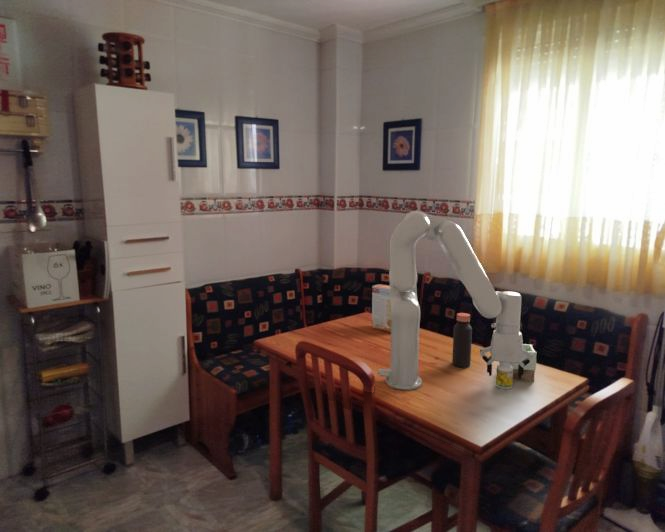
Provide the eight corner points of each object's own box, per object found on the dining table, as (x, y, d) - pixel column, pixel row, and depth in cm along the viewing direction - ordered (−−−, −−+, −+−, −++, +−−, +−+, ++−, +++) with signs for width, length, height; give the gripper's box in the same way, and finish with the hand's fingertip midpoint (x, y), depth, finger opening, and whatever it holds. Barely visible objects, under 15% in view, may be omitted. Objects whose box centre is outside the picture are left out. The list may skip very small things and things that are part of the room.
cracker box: (402, 331, 229) (403, 287, 225) (395, 334, 224) (396, 290, 220) (379, 325, 238) (379, 283, 234) (371, 327, 234) (371, 285, 230)
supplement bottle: (515, 388, 168) (517, 361, 166) (503, 390, 166) (505, 363, 164) (504, 382, 173) (506, 356, 171) (492, 384, 170) (493, 358, 169)
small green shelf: (508, 368, 174) (509, 351, 173) (505, 359, 182) (506, 342, 181) (535, 370, 172) (536, 352, 171) (530, 361, 181) (531, 344, 179)
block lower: (507, 380, 175) (507, 368, 174) (504, 370, 183) (505, 359, 183) (533, 382, 173) (534, 370, 172) (529, 372, 181) (530, 361, 181)
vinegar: (470, 368, 185) (473, 317, 181) (452, 367, 186) (454, 316, 182) (469, 361, 191) (472, 312, 187) (451, 360, 192) (454, 311, 189)
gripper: (481, 329, 164) (479, 377, 167) (536, 333, 160) (533, 382, 163) (480, 323, 171) (477, 369, 174) (533, 326, 167) (529, 373, 170)
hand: (504, 375), depth 168 cm, fingers open, 9 cm apart
